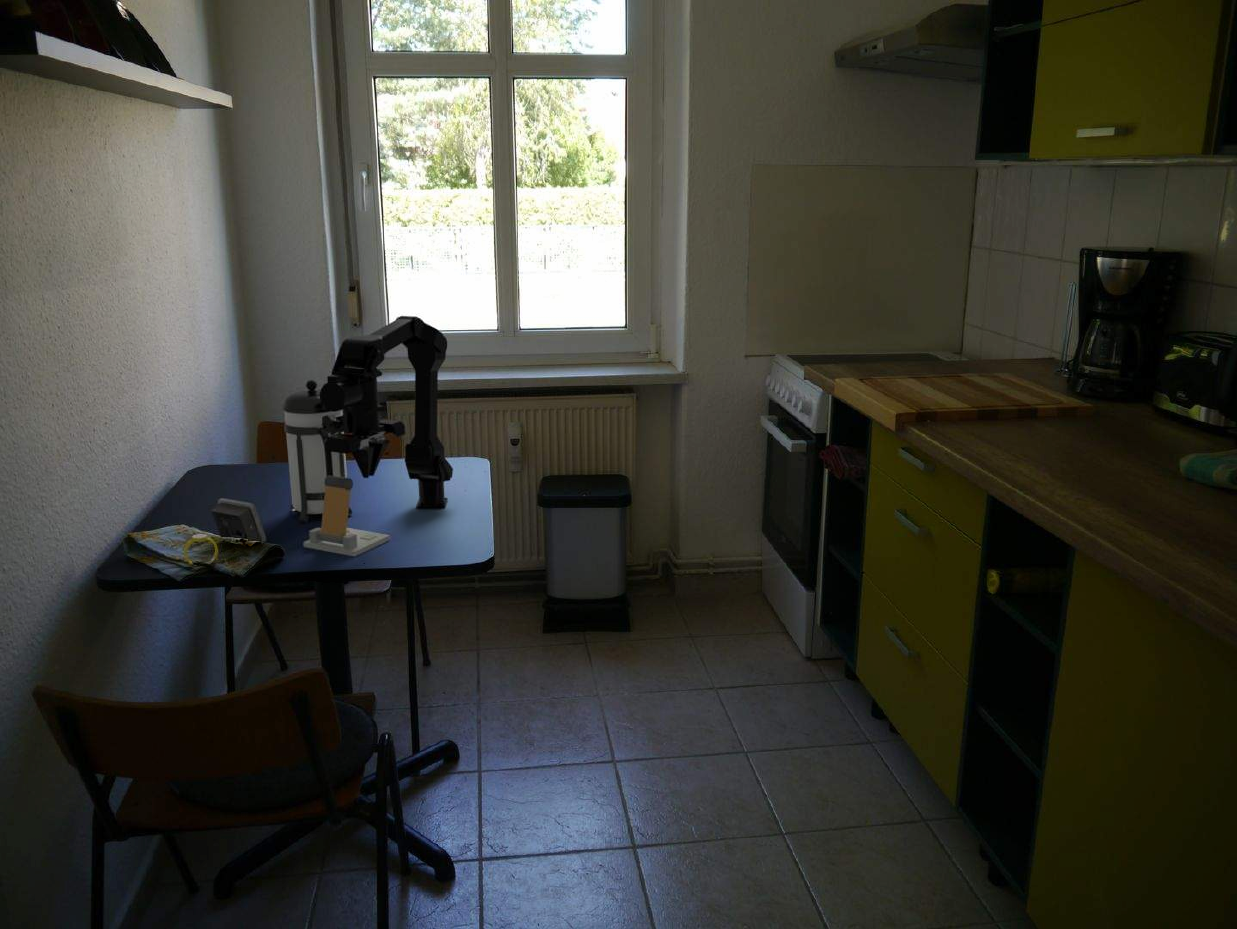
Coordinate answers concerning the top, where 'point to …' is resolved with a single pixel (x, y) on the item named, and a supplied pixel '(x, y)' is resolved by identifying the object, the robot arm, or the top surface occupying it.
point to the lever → (335, 509)
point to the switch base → (347, 542)
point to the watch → (199, 538)
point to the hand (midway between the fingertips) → (368, 476)
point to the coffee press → (309, 451)
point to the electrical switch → (238, 520)
